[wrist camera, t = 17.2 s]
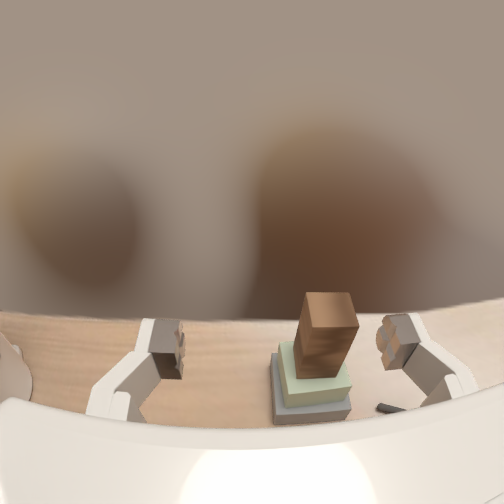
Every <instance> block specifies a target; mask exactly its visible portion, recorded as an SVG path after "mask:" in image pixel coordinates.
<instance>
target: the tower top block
mask: <svg viewBox="0 0 504 504" xmlns="http://www.w3.org/2000/svg"><path fill="white" fill-rule="evenodd" d="M293 345H294V341H291V342H279V348H278V355H277V363H278V369H279V375H280V381H281V387H282V393H283V399H284V405H285V408H293V407H301V406H310V405H317V404H324V403H331V402H338V401H344V399H345V398H346V396H347V394H348V392H349V390H350V389H351V387H352V385H351V381H350V378H349V375H348V372H347V368H346V365H345V362H343V364H342V366H341V368H340V370H339V372H338V374H337V376H336V378H316V379H297V378H296V369H295V360H294V351H293Z"/></svg>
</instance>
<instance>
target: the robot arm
mask: <svg viewBox="0 0 504 504" xmlns="http://www.w3.org/2000/svg"><path fill="white" fill-rule="evenodd" d="M382 323H383V325H382V326H381V327H380V328H379V329H378V331H377V334H376V344H377V348H378V350H379V351H380V352H382V353H383V354H382V357H381V359H382V362H383V365H384V368H385V371H387V370H395V369H402V370H403V371H404V372H405V373H406V374H407V375H408V376H409V377H410V378H411V379H412V380H413V382H414V383H415V384H416V385H417V386H418V387H419V388H420V389H421V390H422V391H423V392H424V393H425V394H426V395H427V396H428V397H427V398H426V399H425V400H424V401H423V402H422V404H421V405H420V408H415V409H411V410H406V411H401V412H397V413H391V414H386V415H381V416H375V417H369V418H363V419H356V420H349V421H342V422H334V423H325V424H315V425H304V426H290V427H272V428H199V427H181V426H167V425H156V424H147V422H146V420H145V419H144V417H143V415H142V414H141V412H140V411H139V409H138V408H139V407H140V406H141V405H142V403H143V402H144V401H145V400H146V398H147V397H148V396H149V395H150V393H151V392H152V391H153V390H154V388H155V387H156V386H157V385H158V383H159V382H160V381H161V379H180V380H182V374H183V366H184V365H183V361H182V358H183V357H184V356H185V335H184V333H183V332H182V328H183V325H182V321H181V320H165V319H147V318H144V319H143V320H142V322H141V325H140V329H139V333H138V337H137V341H136V345H135V349H134V351H130V352H129V353H128V354H127V355H126V356H125V357H124V358H123V359H122V360H121V361H120V362H118V363H117V364H116V365H115V366H114V367H113V368H112V369H111V370H110V371H109V372H108V373H107V374H106V375H105V376H104V377H102V378H101V379H100V380H99V381H98V382H97V383H96V384H95V385H94V386H93V387H92V391H91V394H90V398H89V402H88V406H87V410H86V414H81V413H76V412H71V411H67V410H62V409H58V408H54V407H50V406H46V405H42V404H38V403H34V402H31V401H29V399H30V396H31V392H32V376H31V372H30V370H29V368H28V366H27V365H26V364H25V362H24V361H23V357H22V351H21V349H20V348H19V347H18V346H17V345H11V344H10V343H9V342H8V340H7V339H6V338H5V337H4V336H3V334H2V333H1V332H0V504H504V382H503V383H500V384H497V385H495V386H492V387H489V388H486V389H483V390H479V388H478V385H477V383H476V381H475V379H474V376H473V374H472V372H471V370H470V368H469V367H467V366H466V365H465V364H463V363H462V362H461V361H460V360H458V359H457V358H456V357H455V356H453V355H452V354H451V353H449V352H448V351H447V350H446V349H444V348H443V347H442V346H440V345H439V344H438V343H437V342H435V341H431V339H430V337H429V334H428V332H427V330H426V328H425V326H424V324H423V322H422V320H421V318H420V316H419V314H418V313H407V314H395V315H386V316H385V317H384V318H383V320H382Z"/></svg>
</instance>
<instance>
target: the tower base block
mask: <svg viewBox="0 0 504 504" xmlns="http://www.w3.org/2000/svg"><path fill="white" fill-rule="evenodd" d="M277 355H278V353H272V356H271V363H270V373H271V388H272V404H273V420H274V425H285V424H303V423H316V422H327V421H337V420H345V418H346V417H347V415H348V414H349V412H350V411H351V404H350V399H349V394H347V396H346V398H345V399H344V401H338V402H331V403H324V404H317V405H310V406H301V407H293V408H285V405H284V399H283V393H282V387H281V381H280V375H279V369H278V363H277Z"/></svg>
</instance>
